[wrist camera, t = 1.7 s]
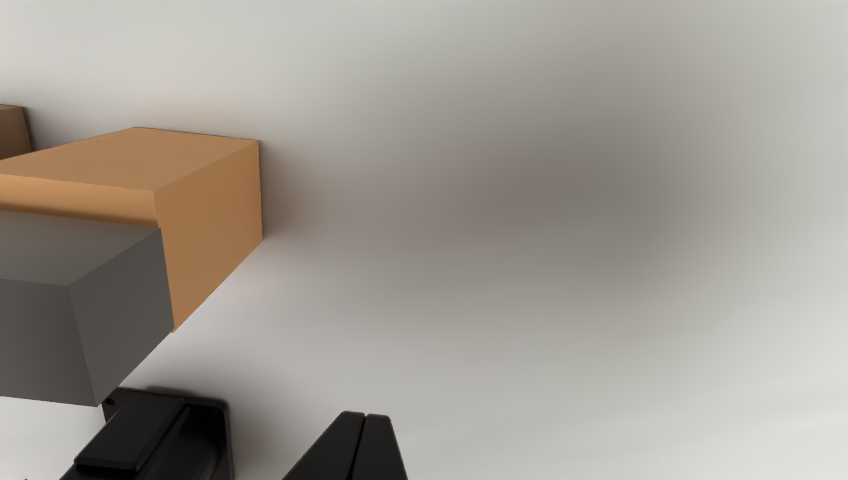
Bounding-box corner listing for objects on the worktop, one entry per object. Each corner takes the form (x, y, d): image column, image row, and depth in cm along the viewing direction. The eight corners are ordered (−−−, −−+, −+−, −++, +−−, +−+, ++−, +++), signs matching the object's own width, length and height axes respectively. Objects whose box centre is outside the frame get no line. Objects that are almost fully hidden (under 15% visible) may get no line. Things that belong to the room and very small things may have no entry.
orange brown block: (262, 240, 20) (173, 332, 13) (150, 227, 20) (7, 313, 13) (258, 140, 18) (153, 190, 12) (135, 126, 18) (-38, 169, 12)
